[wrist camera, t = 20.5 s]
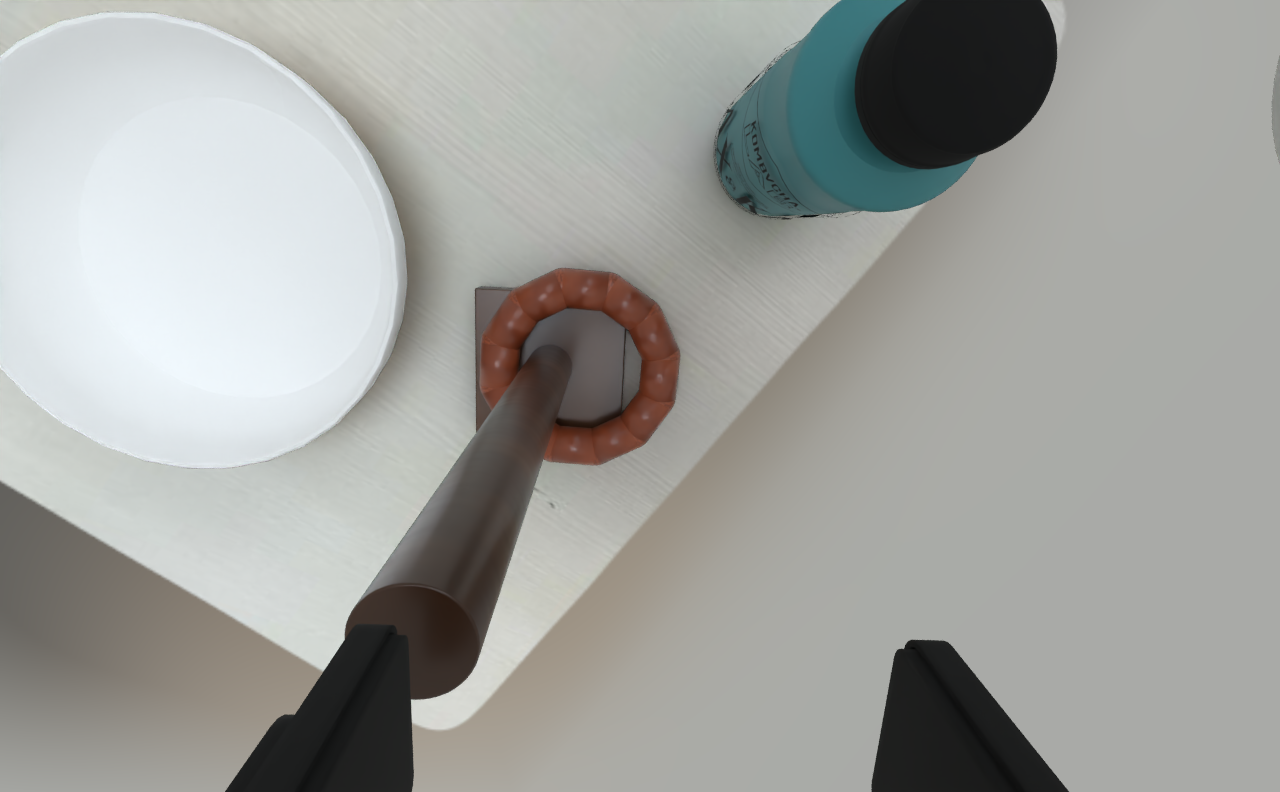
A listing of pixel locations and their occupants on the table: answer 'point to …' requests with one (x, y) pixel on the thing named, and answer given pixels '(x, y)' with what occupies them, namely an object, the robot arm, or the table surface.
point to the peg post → (491, 493)
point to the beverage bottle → (886, 105)
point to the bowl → (187, 243)
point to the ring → (622, 307)
